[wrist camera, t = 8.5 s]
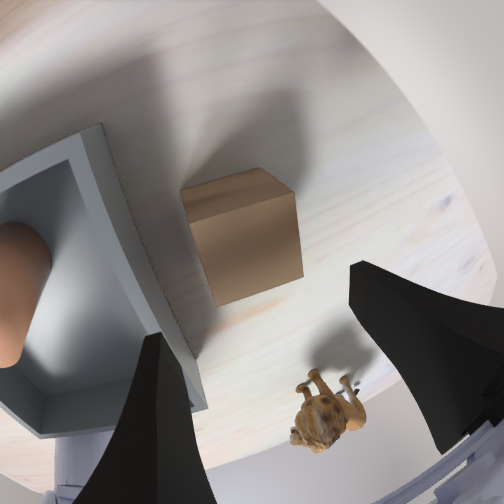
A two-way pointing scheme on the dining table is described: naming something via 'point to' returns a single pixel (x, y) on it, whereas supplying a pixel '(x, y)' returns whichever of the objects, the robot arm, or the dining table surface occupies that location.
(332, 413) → the lion figurine
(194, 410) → the tote
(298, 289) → the dining table surface
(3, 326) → the terracotta cylinder
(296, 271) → the walnut block
